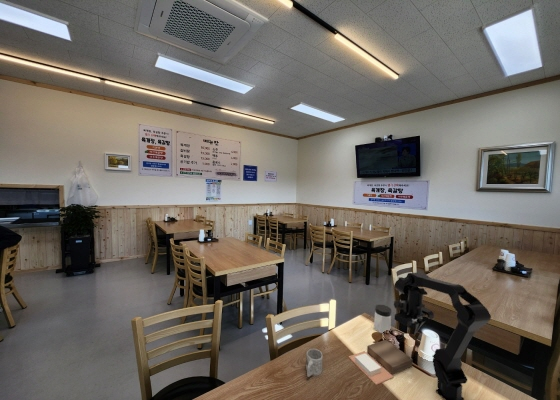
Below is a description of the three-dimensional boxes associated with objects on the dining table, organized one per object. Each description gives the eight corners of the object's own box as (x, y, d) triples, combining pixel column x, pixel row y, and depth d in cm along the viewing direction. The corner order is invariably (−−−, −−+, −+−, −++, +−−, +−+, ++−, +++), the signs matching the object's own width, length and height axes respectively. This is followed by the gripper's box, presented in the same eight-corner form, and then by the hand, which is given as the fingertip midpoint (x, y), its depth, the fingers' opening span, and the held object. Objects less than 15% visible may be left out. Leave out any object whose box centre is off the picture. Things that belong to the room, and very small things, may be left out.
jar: (370, 326, 128) (371, 306, 127) (380, 323, 132) (381, 303, 131) (384, 336, 120) (385, 313, 119) (394, 331, 124) (395, 310, 123)
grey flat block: (370, 371, 93) (370, 376, 93) (381, 367, 95) (380, 372, 95) (354, 356, 101) (354, 361, 101) (365, 353, 103) (365, 357, 103)
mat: (393, 377, 93) (393, 376, 93) (376, 385, 89) (376, 384, 89) (364, 351, 108) (364, 351, 108) (348, 357, 104) (348, 356, 104)
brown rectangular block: (412, 367, 99) (412, 359, 99) (392, 375, 94) (392, 367, 94) (385, 346, 112) (385, 339, 112) (367, 352, 107) (367, 345, 107)
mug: (309, 361, 101) (310, 346, 101) (324, 367, 97) (324, 352, 97) (300, 376, 92) (300, 360, 92) (315, 384, 89) (316, 367, 89)
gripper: (412, 289, 113) (410, 320, 114) (385, 295, 106) (383, 328, 106) (435, 300, 103) (433, 333, 104) (407, 307, 96) (405, 343, 96)
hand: (413, 334), depth 103 cm, fingers closed
